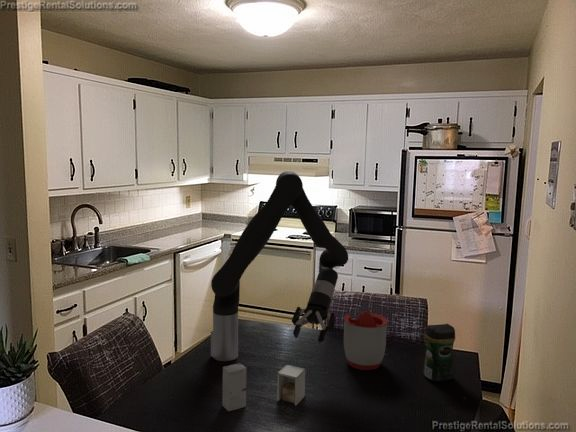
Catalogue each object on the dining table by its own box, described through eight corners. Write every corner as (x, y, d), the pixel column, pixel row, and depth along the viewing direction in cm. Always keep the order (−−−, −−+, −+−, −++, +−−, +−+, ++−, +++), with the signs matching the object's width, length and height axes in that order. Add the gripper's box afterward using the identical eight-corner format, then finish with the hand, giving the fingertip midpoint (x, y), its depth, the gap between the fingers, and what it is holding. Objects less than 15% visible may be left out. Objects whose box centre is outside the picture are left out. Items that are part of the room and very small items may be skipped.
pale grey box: (277, 400, 144) (277, 372, 143) (286, 391, 150) (286, 364, 149) (296, 405, 141) (296, 377, 140) (304, 396, 147) (305, 368, 146)
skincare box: (228, 412, 137) (228, 372, 135) (221, 405, 141) (221, 366, 139) (247, 406, 140) (247, 367, 139) (240, 399, 144) (240, 362, 142)
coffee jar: (443, 370, 167) (447, 320, 164) (456, 381, 159) (460, 328, 157) (419, 373, 164) (422, 321, 162) (431, 383, 157) (434, 330, 154)
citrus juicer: (366, 350, 183) (368, 300, 180) (394, 369, 167) (397, 314, 165) (331, 357, 176) (333, 305, 173) (357, 377, 160) (360, 320, 158)
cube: (282, 400, 145) (282, 387, 144) (288, 394, 148) (288, 382, 148) (294, 403, 143) (294, 390, 142) (299, 397, 146) (299, 385, 146)
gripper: (299, 288, 163) (284, 330, 154) (338, 293, 157) (324, 338, 148) (305, 298, 168) (291, 340, 160) (343, 304, 162) (330, 348, 154)
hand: (307, 339), depth 154 cm, fingers open, 8 cm apart
